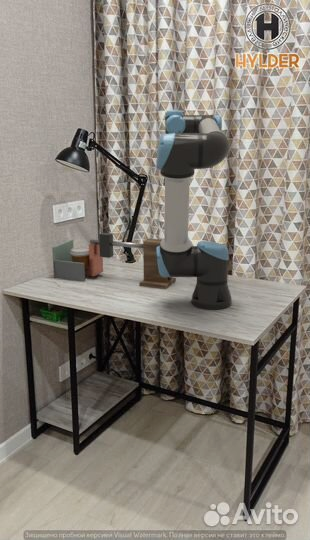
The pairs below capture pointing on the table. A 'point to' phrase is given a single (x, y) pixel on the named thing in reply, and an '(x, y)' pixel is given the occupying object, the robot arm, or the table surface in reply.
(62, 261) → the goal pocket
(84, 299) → the table surface
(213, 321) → the table surface
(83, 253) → the disposable coffee cup
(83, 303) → the table surface
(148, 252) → the brown wooden flanged block
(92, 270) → the player rod
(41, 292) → the table surface
